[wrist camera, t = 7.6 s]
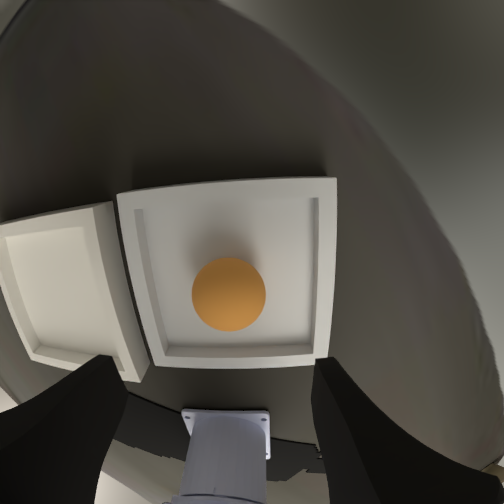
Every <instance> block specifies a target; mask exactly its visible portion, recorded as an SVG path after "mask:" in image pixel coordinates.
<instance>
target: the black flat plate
mask: <svg viewBox="0 0 504 504" xmlns="http://www.w3.org/2000/svg"><path fill="white" fill-rule="evenodd" d="M128 393H129V394H128V398H127V402H126V406H125V409H124V413H123V416H122V418H121V421H120V423H119V426H118V428H117V430H116V433H115V435H114V437H113V439H115V440H117V441H119V442H121V443H124V444H126V445H128V446H131V447H133V448H135V447H137V448H139V449H142V450H144V451H147V452H150V453H152V454H155V455H158V456H160V457H162V456H165V457H168V458H170V457H173V458H176V459H179V460H182V461H185V462H186V457H187V452H188V448H189V443H190V438H191V436H190V434H189V432H188V429H187V427H186V424H185V422H184V419H183V417H182V414H181V413H179V412H177V411H174V410H171V409H168V408H166V407H163V406H161V405H158V404H156V403H153V402H151V401H148V400H146V399H144V398H141V397H139V396H137V395H135V394H132V393H130V392H128ZM315 446H316V444H308V443H300V442H294V441H287V440H281V439H276V438H271V437H270V459H266V480H268V481H277V482H278V481H279V480H280V481H287V480H288V479H290V478H291V477H292V476H294V475H295V474H297V473H298V472H300V471H301V470H302V469H308V470H307V471H306V472H307V473H326V471H325V467H324V463H323V459H322V458H318V457H319V456H321V455H322V454H321V451H320V452H317V451H318V449H317V447H315Z"/></svg>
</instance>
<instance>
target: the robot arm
mask: <svg viewBox="0 0 504 504" xmlns="http://www.w3.org/2000/svg"><path fill="white" fill-rule="evenodd" d="M128 394H129V393H128V391H127V389H126V387H125V385H124V383H123V380H122V378H121V376H120V374H119V371H118V369H117V367H116V364H115V362H114V359H113V357H112V356H109V355H102V354H99V355H97V356H95V357H94V358H92V359H91V360H89V361H87V362H86V363H85V364H83V365H82V366H80V367H79V368H77V369H76V370H75V371H73V372H72V373H70V374H69V375H67V376H66V377H65V378H63V379H62V380H60V381H59V382H57V383H56V384H54V385H53V386H51V387H50V388H48V389H47V390H45V391H43V392H42V393H40V394H39V395H37V396H35V397H34V398H32V399H30V400H28V401H26V402H24V403H22V404H20V405H18V406H16V407H14V408H12V409H9V410H6V411H4V412H1V413H0V504H94V500H95V494H96V489H97V484H98V479H99V475H100V471H101V467H102V464H103V461H104V458H105V456H106V454H107V451H108V449H109V446H110V444H111V442H112V439H113V437H114V435H115V433H116V430H117V428H118V426H119V423H120V421H121V418H122V416H123V413H124V409H125V406H126V402H127V398H128ZM311 404H312V413H313V420H314V426H315V430H316V434H317V438H318V442H319V446H320V450H321V454H322V459H323V463H324V467H325V471H326V475H327V481H328V487H329V497H330V504H503V503H504V488H503V486H502V483H501V481H500V479H499V478H498V476H496V475H492V474H488V473H485V472H482V471H478V470H475V469H472V468H469V467H467V466H464V465H462V464H460V463H457V462H455V461H453V460H451V459H449V458H447V457H445V456H443V455H442V454H440V453H438V452H436V451H434V450H433V449H431V448H429V447H427V446H426V445H424V444H423V443H421V442H420V441H418V440H417V439H415V438H414V437H412V436H411V435H410V434H408V433H407V432H406V431H405V430H403V429H402V428H401V427H399V426H398V425H397V424H396V423H395V422H394V421H392V420H391V419H390V418H389V417H388V416H387V415H386V414H385V413H384V412H383V411H381V410H380V409H379V408H378V407H377V406H376V405H375V404H374V403H373V402H372V401H371V400H370V398H369V397H368V396H367V395H366V394H365V393H364V392H363V391H362V390H361V389H360V388H359V387H358V385H357V384H356V383H355V382H354V381H353V380H352V378H351V377H350V376H349V375H348V374H347V372H346V371H345V370H344V369H343V367H342V366H341V365H340V364H339V362H338V361H337V360H336V359H335V358H334V357H326V358H317V359H315V366H314V376H313V385H312V393H311ZM181 414H182V417H183V419H184V422H185V424H186V427H187V429H188V432H189V434H190V436H191V438H190V443H189V448H188V452H187V457H186V462H185V466H184V471H183V476H182V481H181V485H180V490H179V495H178V496H177V495H173V496H172V501H171V503H169V502H164V503H162V504H266V459H270V419H269V412H268V411H264V410H262V411H218V410H197V409H183V410H182V412H181Z"/></svg>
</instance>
